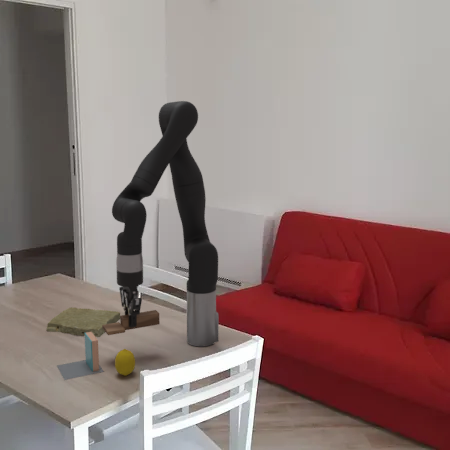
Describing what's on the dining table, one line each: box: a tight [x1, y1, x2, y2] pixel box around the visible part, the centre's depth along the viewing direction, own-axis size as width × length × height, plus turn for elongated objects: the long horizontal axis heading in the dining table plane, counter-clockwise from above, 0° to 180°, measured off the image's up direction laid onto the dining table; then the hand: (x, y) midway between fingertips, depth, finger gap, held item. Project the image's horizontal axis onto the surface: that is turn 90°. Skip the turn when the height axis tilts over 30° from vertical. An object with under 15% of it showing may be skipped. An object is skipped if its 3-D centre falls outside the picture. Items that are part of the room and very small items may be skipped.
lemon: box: [114, 348, 136, 377], centre depth 160 cm, size 6×6×8 cm
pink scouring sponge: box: [84, 332, 100, 372], centre depth 165 cm, size 2×7×9 cm, turn 28°
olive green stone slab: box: [45, 306, 121, 338], centre depth 198 cm, size 19×20×4 cm
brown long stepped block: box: [102, 309, 160, 336], centre depth 169 cm, size 6×16×4 cm, turn 117°
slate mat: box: [56, 359, 105, 381], centre depth 164 cm, size 11×10×1 cm
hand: (130, 324), depth 169 cm, fingers closed on brown long stepped block, 3 cm apart
